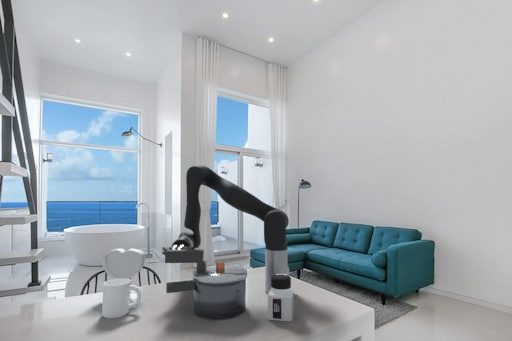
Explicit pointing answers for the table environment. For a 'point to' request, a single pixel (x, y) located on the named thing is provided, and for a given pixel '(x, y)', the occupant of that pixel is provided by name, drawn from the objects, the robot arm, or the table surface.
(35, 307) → the table surface
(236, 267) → the cooker lid
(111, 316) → the mug
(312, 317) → the table surface
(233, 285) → the cooker pot
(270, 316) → the container
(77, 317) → the table surface
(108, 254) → the heart sculpture
